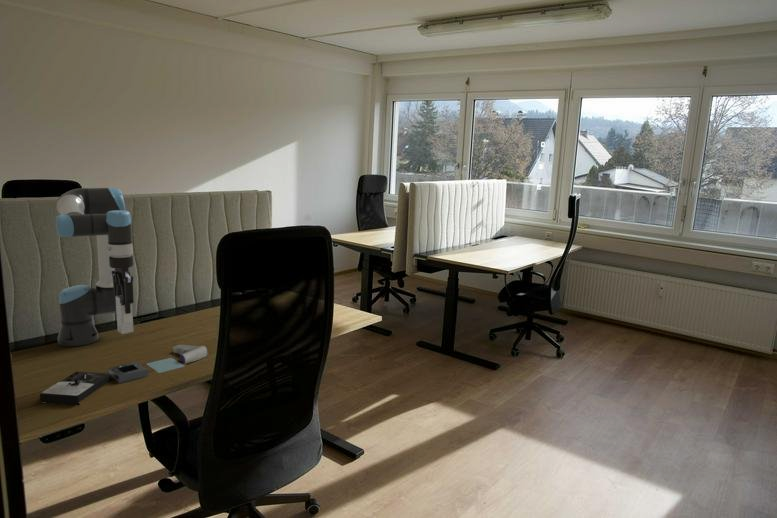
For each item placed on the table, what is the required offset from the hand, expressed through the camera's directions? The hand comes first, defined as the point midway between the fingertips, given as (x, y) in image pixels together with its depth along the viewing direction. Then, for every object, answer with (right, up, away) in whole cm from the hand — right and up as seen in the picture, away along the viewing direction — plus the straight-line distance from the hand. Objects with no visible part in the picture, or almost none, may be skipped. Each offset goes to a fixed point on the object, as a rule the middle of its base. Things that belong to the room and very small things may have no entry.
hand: (124, 320), depth 198 cm
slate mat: (+9, -20, +14) cm, 26 cm away
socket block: (-1, -21, +4) cm, 22 cm away
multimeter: (-12, -24, -8) cm, 28 cm away
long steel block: (0, -4, +1) cm, 4 cm away
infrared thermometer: (+12, -18, +25) cm, 33 cm away
